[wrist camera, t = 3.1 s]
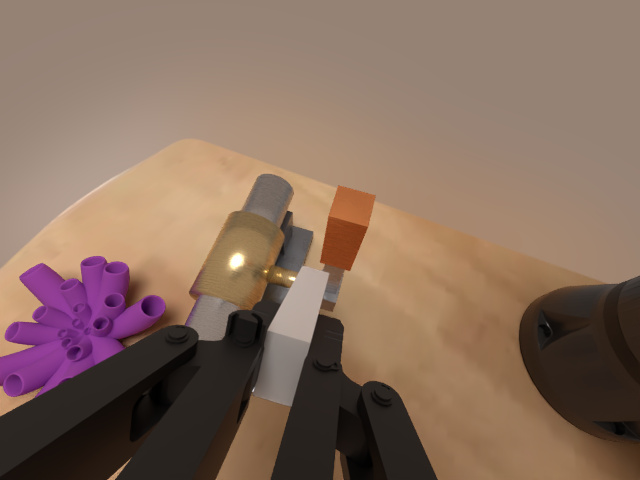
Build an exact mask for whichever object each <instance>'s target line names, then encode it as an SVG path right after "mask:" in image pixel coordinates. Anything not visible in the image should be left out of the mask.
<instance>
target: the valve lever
mask: <svg viewBox="0 0 640 480" xmlns="http://www.w3.org/2000/svg"><path fill="white" fill-rule="evenodd" d="M374 200H375V195H372V194H368V193H365V192H361V191H357V190H353V189H350V188H346V187H342V186H338V188H337V191H336V195H335V198H334V201H333V204H332V207H331V210H330V213H329V217H328V222H327V228H326V233H325V238H324V244H323V249H322V255H321V260H320V263H324V264H325V266H324V269H323V270H322V271H324V272H328V273H329V277H328V280H327V284H326V288H325V291H324V295H323V299H322V302H321V306H320V308H321V309H324V310H328V311H331V312H333V309H334V307H335V304H336V301H337V297H338V294H339V290H340V286H341V282H342V278H343V273H344V271H345V270H348V271H350V270H351V267H352V265H353V263H354V260H355V258H356V255H357V253H358V250H359V248H360V245H361V243H362V241H363V238H364V236H365V233H366V231H367V228H368V225H369V221H370V217H371V213H372V209H373V204H374Z"/></svg>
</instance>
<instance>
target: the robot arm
mask: <svg viewBox="0 0 640 480" xmlns="http://www.w3.org/2000/svg"><path fill="white" fill-rule="evenodd" d="M328 277H329V273H328V272H324V271H321V270H317V269H313V268H310V267H306V266H302V267H301V269H300V271H299V273H298V275H297V277H296V278H295V280H294V282H293V284H292V286H291V288H290V289H289V291H288V293H287V295H286V297H285V299H284V301H283V302H282V304H279V303H276V302H272V301H269V300H265V299H263V300H261V301H259V302H257V303H256V304H255V305H254V306H253V308H252V310H237V311H234V312H232V313H230V314H229V316H228V321H227V326H226V332H225V336H224V337H223V339H222V340H217V341H208V340H198V339H199V335H198V333H197V331H196V330H194V329H193V328H191V327H188V326H185V325H173V326H168V327H165V328H162V329H160V330H159V331H157V332H155V333H153V334H151V335H149V336H147V337H146V338H144V339H142V340H140V341H138V342H136V343H135V344H133V345H131V346H129V347H127V348H125V349H124V350H122V351H120V352H118V353H116V354H114V355H113V356H111V357H109V358H107V359H105V360H103V361H102V362H100V363H98V364H96V365H94V366H92V367H91V368H89V369H87V370H85V371H83V372H81V373H79V374H78V375H76V376H74V377H72V378H70V379H68V380H67V381H65V382H63V383H61V384H59V385H57V386H56V387H54V388H52V389H50V390H48V391H46V392H45V393H43V394H41V395H39V396H37V397H35V398H34V399H32V400H30V401H28V402H26V403H24V404H23V405H21V406H19V407H17V408H15V409H13V410H11V411H10V412H8V413H6V414H4V415H2V416H0V480H107V479H109V478H110V477H111V476H112V475H113V474H114V473H115V472H116V471H117V470H118V469H120V468H121V467H122V466H123V465H124V464H125V463H126V462H127V461H128V460H129V459H130V458H131V459H130V461H129V462H128V463H127V465H126V466H125V467H124V469H123V470H122V471H121V473H120V474H119V475H118V477H117V478H116V479H115V480H215V479H216V477H217V475H218V473H219V470H220V468H221V466H222V464H223V462H224V459H225V457H226V455H227V453H228V450H229V448H230V446H231V444H232V442H233V439H234V437H235V435H236V433H237V430H238V428H239V426H240V424H241V421H242V419H243V417H244V415H245V413H246V410H247V408H248V405H249V400H250V396H251V393H252V391H253V389H254V392H253V396H256V397H260V398H263V399H266V400H269V401H273V402H276V403H279V404H282V405H286V406H289V407H291V409H290V413H289V416H288V420H287V423H286V427H285V431H284V434H283V438H282V441H281V445H280V448H279V452H278V455H277V459H276V462H275V466H274V469H273V473H272V477H271V480H333V471H334V460H335V449H337V450H338V451H340V460H341V466H342V472H343V478H344V480H438V479H437V477H436V475H435V473H434V470H433V468H432V466H431V464H430V461H429V459H428V457H427V455H426V453H425V450H424V448H423V446H422V444H421V441H420V439H419V437H418V435H417V432H416V430H415V428H414V426H413V423H412V421H411V419H410V417H409V415H408V412H407V410H406V408H405V406H404V403H403V401H402V399H401V397H400V396H399V394H398V393H397V392H396V391H395V390H394V389H393V388H391V387H390V386H388V385H386V384H384V383H381V382H377V381H369V382H367V383H365V384H364V385H363V387H362V386H360V385H358V384H356V383H355V382H353V381H352V380H350V379H349V378H348V377H347V376H346V375H345V374H344V372H343V371H342V365H341V364H340V362H341V352H342V341H343V331H344V327H343V325H342V323H341V321H340V320H338V319H334V318H331V317H327V316H324V315H320V314H319V310H320V306H321V302H322V299H323V295H324V291H325V288H326V284H327V280H328ZM520 345H521V351H522V355H523V358H524V362H525V364H526V367H527V369H528V372H529V374H530V376H531V378H532V380H533V381H534V383H535V385H536V386H537V388H538V389H539V391H540V392H541V394H542V395H543V396H544V397H545V399H546V400H547V401H548V402H549V403H550V404H551V406H552V407H553V408H554V409H555V410H556V411H557V412H558V413H560V414H561V415H562V416H563V417H564V418H565V419H567V420H568V421H569V422H571V423H572V424H573V425H575V426H576V427H578V428H580V429H581V430H583V431H585V432H587V433H589V434H591V435H594V436H596V437H599V438H602V439H606V440H610V441H617V442H628V443H640V276H638V277H635V278H633V279H630V280H628V281H625V282H622V283H620V284H604V285H585V286H570V287H564V288H560V289H557V290H554V291H552V292H550V293H548V294H546V295H543V296H541V297H539V298H538V299H536V300H535V301H534V302H533V303H532V304H531V305H530V306H529V307H528V309H527V310H526V312H525V314H524V316H523V319H522V322H521V327H520Z"/></svg>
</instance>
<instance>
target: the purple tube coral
mask: <svg viewBox="0 0 640 480" xmlns="http://www.w3.org/2000/svg"><path fill="white" fill-rule="evenodd" d="M81 273H82V282H83V284H82V283H81V282H80V281H79V280H77V279H74V278H73V279H68V280H66V281H65V280H64V279H63V278H62V277H61V276H60V275H59V274H57V273H56V272H55V271H54V270H52V269H51V268H50V267H48V266H47V265H45V264H43V263H41V264H38V265H36V266H34V267H32V268H31V269H29V270H27V271H26V272H25V273H23V274H22V275H21V276H20V277H19V278H20V280H21V282H22V283H23V284H24V285H25V286H26V287H27V288H28V289H29V290H30V291H31V292H32V293H33V294H34V295H35V296H36V297H37V299H38V300H39V301H40V302H41V303H42V304H43V305H44V306H41V307H39V308H37V309H36V310H35V312H34V313H33V316H32V317H33V319H34V320H35V321H37V322H38V323H32V322H14V323H12V324H11V325H10V326H9V327H8V329H7V330H6V333H5V339H6V340H7V341H9V342H13V343H18V344H25V345H36V346H34V347H31V348H28V349H26V350H23V351H20V352H17V353H13V354H10V355H6V356H3V357H0V386H3V389H4V391H5V393H6V394H7V395H8V396H11V397H16V396H20V395H24V394H27V393H29V392H32V391H34V390H36V389H38V388H40V387H42V386H44V387H43V388H42V389H41V391H40V392H39V393H38V394H37V395H36V396H35V397H37V396H39V395H41V394H43V393H45V392H46V391H48V390H50V389H52V388H54V387H56V386H57V385H59V384H61V383H63V382H65V381H67V380H68V379H70V378H72V377H74V376H76V375H78V374H79V373H81V372H83V371H85V370H87V369H89V368H91V367H92V366H94V365H96V364H98V363H100V362H102V361H103V360H105V359H107V358H109V357H111V356H113V355H114V354H116V353H118V352H120V351H122V350H124V349H125V347H124V346H123V345H122V344H121V343H120V342H119V341H118V340H119V339H122V338H126V337H128V336H131V335H134V334H137V333H139V332H141V331H143V330H145V329H147V328H149V327H151V326H152V325H153V324H155V323H156V322H157V321H158V320H159V319H160V318H161V317H162V315H163V313H164V311H165V308H166V306H165V302H164V301H163V299H162V298H161V297H158V296H155V295H149V296H146V297H144V298H143V299H141V300H140V301H139V302H137V303H135V304H134V305H132V306H130V307H128V308H126V309H125V307H126V303H125V297H126V294H127V291H128V287H129V279H130V276H129V268H128V266H127V265H126V264H125V263H123V262H111V263H107V261H106V259H105V258H104V257H101V256H93V257H89V258H86V259H84V260H83V261H82V262H81Z"/></svg>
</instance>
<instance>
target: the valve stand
mask: <svg viewBox="0 0 640 480" xmlns="http://www.w3.org/2000/svg"><path fill="white" fill-rule="evenodd" d="M293 195H294V191H293V188H292V187H291V185H290V184H289V183H288V182H287V181H286V180H284V179H283V178H281V177H279V176H276V175H272V174H262V175H260V176H258V178H257V179H256V181H255V183H254V185H253V187H252V189H251V191H250V193H249V195H248V197H247V200H246V202H245V204H244V206H243V208H242V210H241V211H235V212H232V213H230V214H229V216H228V217H227V219H226V221H225V223H224V225H223V227H222V229H221V231H220V233H219V235H218V237H217V239H216V241H215V243H214V245H213V247H212V248H211V250H210V252H209V254H208V256H207V258H206V260H205V262H204V264H203V266H202V268H201V270H200V272H199V274H198V276H197V278H196V280H195V282H194V283H193V285H192V287H191V289H190V291H189V294H190V296H191V297H192V298H194V299H195V300H196V303H195V305H194V307H193V309H192V311H191V313H190V315H189V317H188V319H187V321H186V323H185V326H188V327H191V328H193V329H194V330H196V331H197V333H198V335H199V339H198V340H208V341H217V340H222V339H223V337H224V336H225V332H226V326H227V321H228V316H229V314H230V313H232V312H234V311H237V310H252V308H253V306H254V305H255V304H256V303H257V302H259V301H261V300H263V299H265V300H269V301H272V302H276V303H279V304H282V302H283V301H284V299H285V297H286V295H287V293H288V291H289V289H290V288H291V286H292V284H293V282H294V280H295V278H296V277H297V275H298V273H299V271H300V269H301V267H302V266H304V263H305V260H306V257H307V254H308V251H309V248H310V245H311V242H312V239H313V231H309V230H306V229H302V228H298V227H295V226H293V212H290V211H287V210H288V207H289V205H290V202H291V200H292V197H293ZM252 392H254V389H253V391H252Z"/></svg>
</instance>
